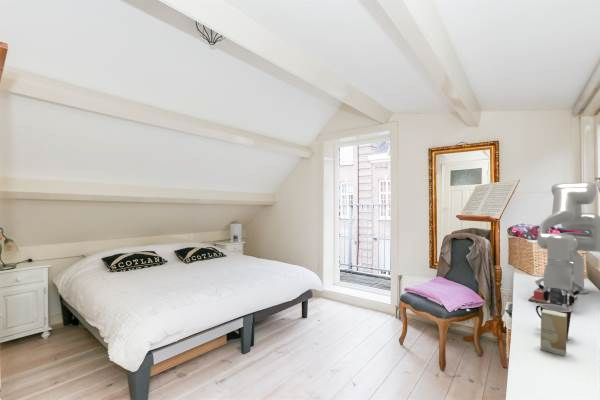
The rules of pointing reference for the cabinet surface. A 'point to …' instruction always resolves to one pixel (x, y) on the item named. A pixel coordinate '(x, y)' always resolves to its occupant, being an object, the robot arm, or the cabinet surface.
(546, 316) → the skincare box
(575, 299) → the game board
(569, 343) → the cabinet surface
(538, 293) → the red die
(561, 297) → the pill bottle
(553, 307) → the coffee mug
